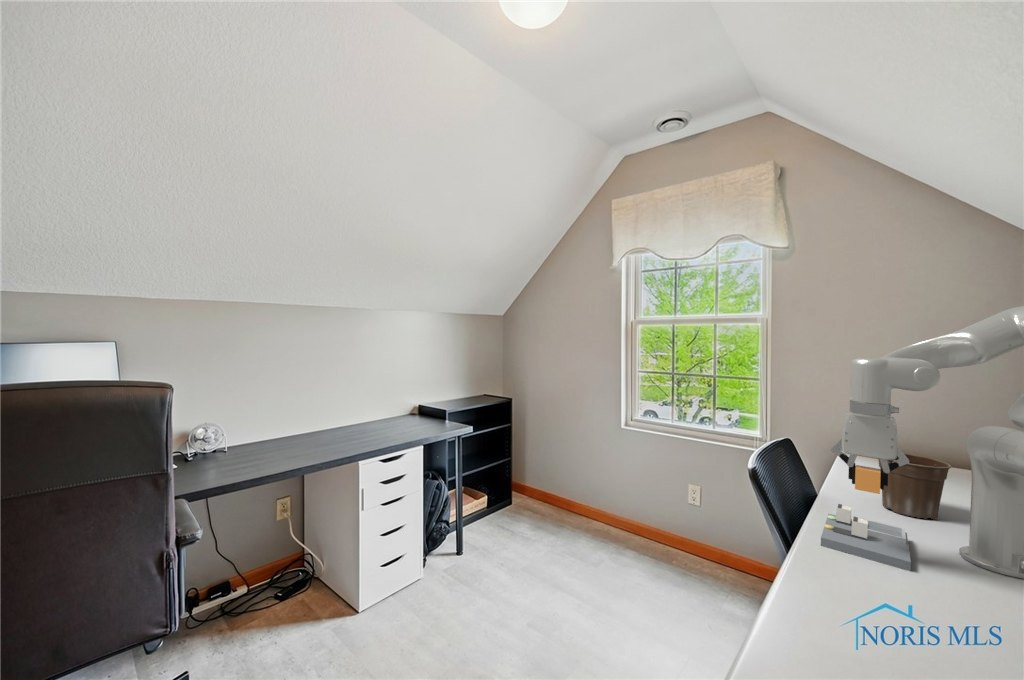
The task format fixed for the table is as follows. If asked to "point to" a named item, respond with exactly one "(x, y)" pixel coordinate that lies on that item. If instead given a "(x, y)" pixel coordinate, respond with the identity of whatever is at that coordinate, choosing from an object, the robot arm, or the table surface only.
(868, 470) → the cap
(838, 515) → the toggle
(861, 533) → the cube with dark stripe
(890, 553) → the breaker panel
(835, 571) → the table surface
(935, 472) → the plant pot
